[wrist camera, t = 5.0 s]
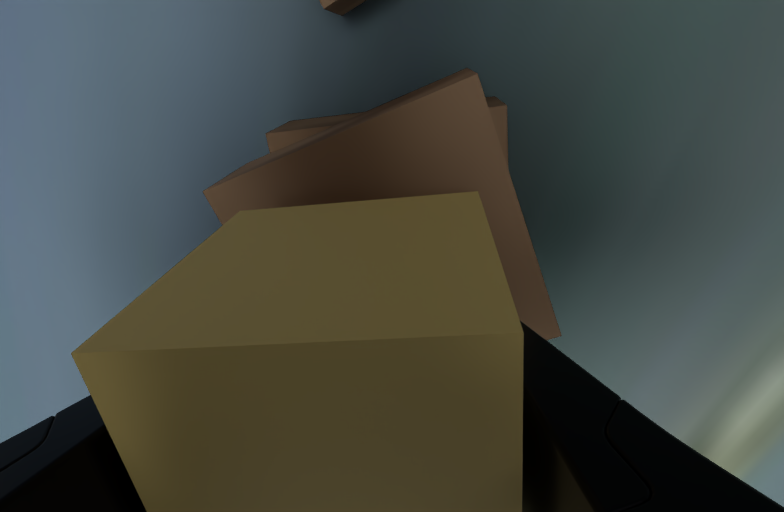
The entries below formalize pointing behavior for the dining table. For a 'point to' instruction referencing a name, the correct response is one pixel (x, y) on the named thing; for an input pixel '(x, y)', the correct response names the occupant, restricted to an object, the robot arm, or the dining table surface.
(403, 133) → the walnut slab upper
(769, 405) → the dining table surface
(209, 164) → the dining table surface
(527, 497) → the robot arm
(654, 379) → the dining table surface
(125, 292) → the dining table surface
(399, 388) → the mustard cube
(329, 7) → the walnut slab
